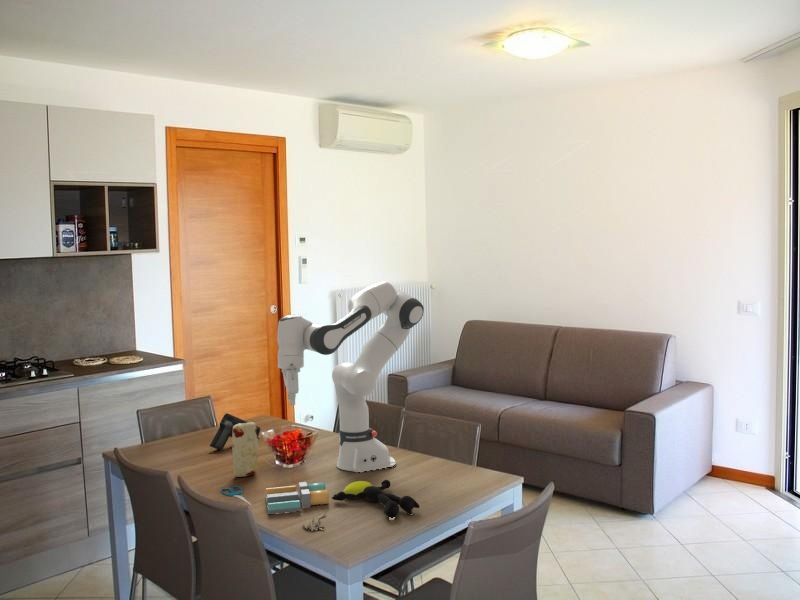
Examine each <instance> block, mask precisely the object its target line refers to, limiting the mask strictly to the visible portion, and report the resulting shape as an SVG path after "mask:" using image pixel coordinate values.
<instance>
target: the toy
mask: <svg viewBox="0 0 800 600" xmlns="http://www.w3.org/2000/svg"><path fill="white" fill-rule="evenodd" d="M390 487H391V481H390V479H389V480H388V479H384V480H382V481H381V486H375V485H372V483H371V482H369V481H366V480H365V481H364V480H358V481H353V482H351V483H349V484H347V485H346V486H345V488H344V490H343V491H338V493H335V494H334V495H333V496H332V497H331V499H332V500H334V501H341V502H343V501H345V500H355V499H358V500H359V499H362V498H365V499H366V500H368V501H370V502H373V503H378V502H380V503H381V504H382V505H383V506H384V507H383V514H385V516H386V517H387V516H388V517H391V518H393V517H396V518H397V517H398V514H399V512H400V509H401V510H403V511H404V512H406V513H407V514H408V513H409V514H408V515H410V514H412V513H413V512H412V510H413V509H414V508H416V509H419V508H420V504H419V502H417V501H416V500H415V498H413V497H411V495H410V496H409V495H404V496H402V497H400V496H397V495H395V494H393V493H389V492H388V493H387V492H383V491H384V490H387V489H389V488H390ZM364 496H365V497H364ZM388 517H387V518H388Z"/></svg>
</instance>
